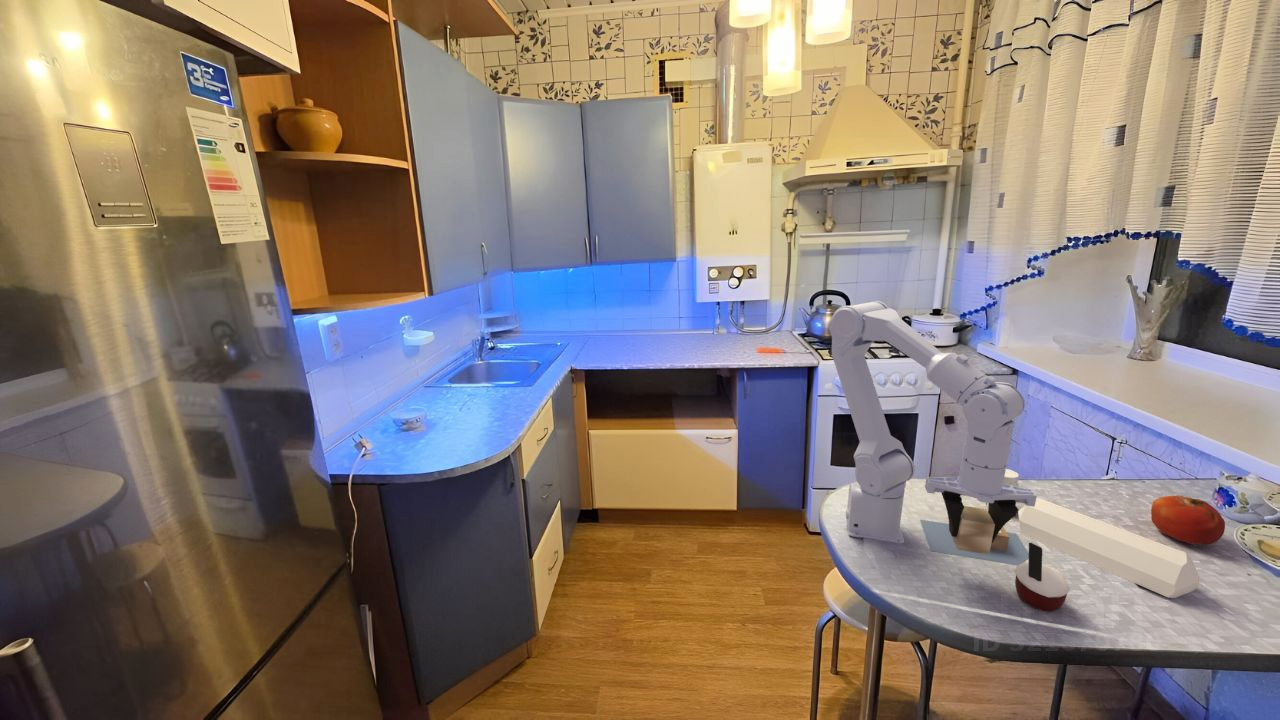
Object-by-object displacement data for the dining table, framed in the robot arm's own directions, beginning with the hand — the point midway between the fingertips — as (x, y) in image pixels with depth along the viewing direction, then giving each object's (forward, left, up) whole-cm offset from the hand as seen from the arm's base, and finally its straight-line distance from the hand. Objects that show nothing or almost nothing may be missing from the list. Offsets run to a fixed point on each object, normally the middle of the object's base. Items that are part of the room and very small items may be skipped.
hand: (970, 536), depth 81 cm
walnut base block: (+5, +12, -7) cm, 15 cm away
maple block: (0, 0, -1) cm, 1 cm away
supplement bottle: (+12, +24, -8) cm, 28 cm away
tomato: (+40, +23, -8) cm, 47 cm away
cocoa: (+9, -3, -8) cm, 12 cm away
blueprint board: (+4, +10, -8) cm, 13 cm away
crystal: (+23, +12, -8) cm, 27 cm away
